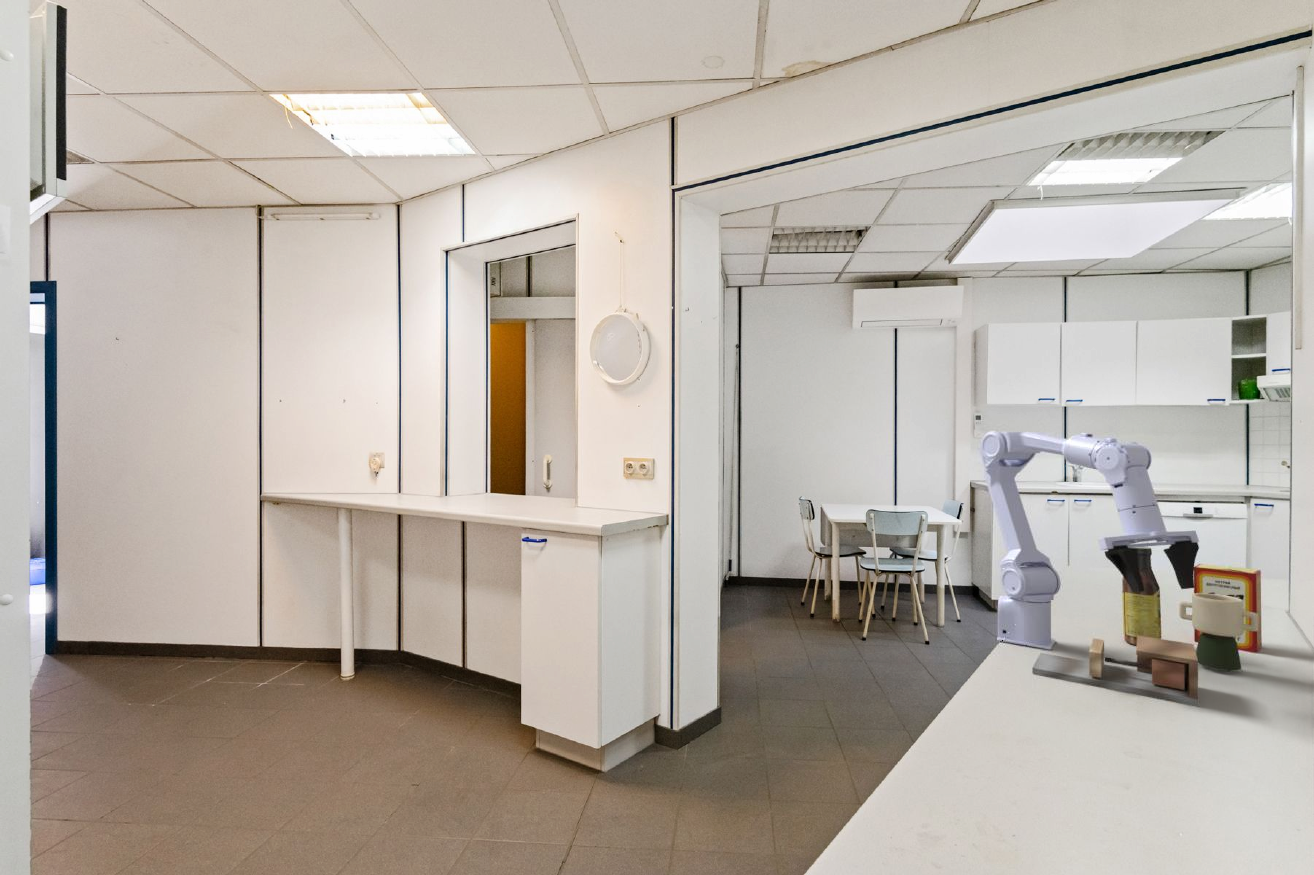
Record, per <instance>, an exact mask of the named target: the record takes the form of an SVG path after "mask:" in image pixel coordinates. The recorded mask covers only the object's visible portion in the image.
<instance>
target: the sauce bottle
mask: <svg viewBox="0 0 1314 875" xmlns="http://www.w3.org/2000/svg"><path fill="white" fill-rule="evenodd" d="M1133 548H1136V549H1137V558H1138V567H1139V572H1140V575H1141V578H1142V582H1143V585H1144V591H1142V592H1132V590H1131V588H1130V586H1129V585H1128V583H1127V581H1126V580H1125V578H1124V577H1123V576H1122V581H1121V583H1122V586H1121V587H1122V591H1121V603H1122V606H1121V607H1122V632H1123V635H1124V636H1123V638H1124V641H1125V642H1126V643H1128V644H1130V645H1132V646H1136V647H1137V636H1144V637H1150V638H1157V639H1162V620H1161V619H1162V614H1161V608H1162V607H1161V589H1160V585H1159V583H1158V581H1157V578H1156V575H1155V574H1154V571H1153V569H1152V567H1153V566H1152V558H1151V557H1152V554H1153V551H1152V548H1151V547H1150V546H1145V547H1132V548H1130V549H1133Z"/></svg>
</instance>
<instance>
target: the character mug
mask: <svg viewBox="0 0 1314 875" xmlns="http://www.w3.org/2000/svg"><path fill="white" fill-rule="evenodd" d="M1178 607H1179V609H1178V610H1179V618H1180V619H1183V620H1187V621H1191V625H1192V627H1193V629H1196V630H1198V631H1201V632H1203V633H1201V634H1200V636H1199V639H1198V642H1197V647H1196V650H1195V651H1196V655H1197V659H1198V665H1201V666H1204V667H1206V668H1207V669H1208V668H1209V669H1212V670H1218V671H1227V672H1231V671H1238V670H1242V664H1241V657H1240V654H1239V650H1238V646H1237V642H1236V640H1235V639H1234V638H1233V637H1236V636H1241V635H1242V634H1243V632H1244V630H1248V631H1258V615H1257V614H1256V613H1254V612H1247V611H1244V604H1243V600H1241V599H1239V598H1235V597H1230V596H1225V595H1218V594H1206V593H1195V594H1194V593H1192V595H1191V602H1189V601H1180V602H1179V605H1178ZM1187 608H1190V609H1191V615H1190V614H1187ZM1244 617H1250V618H1251V625H1245V624H1244Z"/></svg>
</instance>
